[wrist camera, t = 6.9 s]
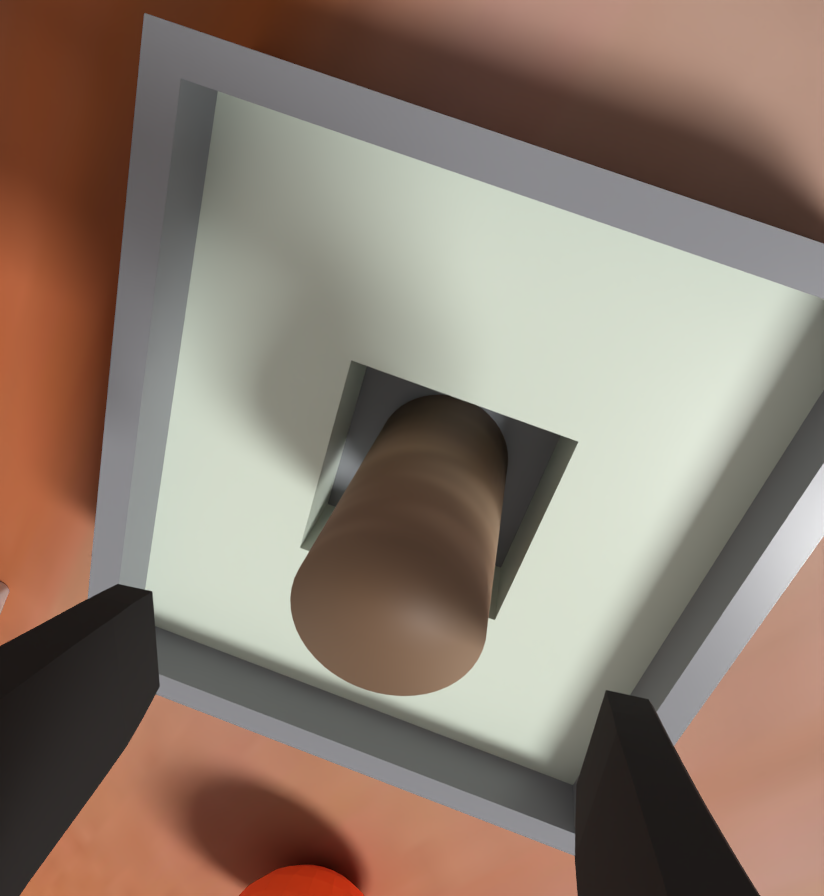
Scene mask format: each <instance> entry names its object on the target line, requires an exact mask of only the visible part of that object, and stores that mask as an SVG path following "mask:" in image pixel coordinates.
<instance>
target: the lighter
mask: <svg viewBox="0 0 824 896" xmlns="http://www.w3.org/2000/svg"><path fill="white" fill-rule="evenodd" d="M8 593H9V589H8V587H7V585H5V584H4V583H2V582H0V614H1V611H2V609H3V606H4V604H5V601H6V598H7V596H8Z"/></svg>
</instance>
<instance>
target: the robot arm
mask: <svg viewBox="0 0 824 896" xmlns="http://www.w3.org/2000/svg"><path fill="white" fill-rule="evenodd" d="M159 687H160V683H159V670H158V657H157V644H156V631H155V618H154V605H153V592H152V591H149V590H144V589H140V588H135V587H130V586H126V585H121V584H116V585H114V586H112V587H110V588H108V589H106V590H104V591H102V592H100V593H98V594H96V595H94V596H93V597H91V598H89V599H87V600H85V601H83V602H81V603H79V604H78V605H76V606H74V607H72V608H70V609H68V610H66V611H65V612H63V613H61V614H59V615H57V616H55V617H54V618H52V619H50V620H48V621H46V622H44V623H43V624H41V625H39V626H37V627H35V628H33V629H31V630H30V631H28V632H26V633H24V634H22V635H20V636H18V637H16V638H15V639H13V640H11V641H9V642H7V643H5V644H3V645H1V646H0V896H20V894H21V893H22V891H23V890H24V888H25V887H26V885H27V884H28V882H29V881H30V880H31V878H32V877H33V875H34V874H35V873H36V871H37V870H38V869H39V867H40V866H41V864H42V863H43V862H44V860H45V859H46V858H47V856H48V855H49V853H50V852H51V851H52V849H53V848H54V847H55V845H56V844H57V842H58V841H59V840H60V838H61V837H62V836H63V834H64V833H65V831H66V830H67V829H68V827H69V826H70V825H71V823H72V822H73V820H74V819H75V818H76V816H77V815H78V814H79V812H80V811H81V809H82V808H83V807H84V805H85V804H86V802H87V801H88V800H89V798H90V797H91V796H92V794H93V793H94V791H95V790H96V789H97V787H98V786H99V784H100V783H101V782H102V780H103V779H104V777H105V776H106V775H107V773H108V772H109V770H110V769H111V768H112V766H113V765H114V763H115V762H116V761H117V759H118V758H119V756H120V755H121V753H122V752H123V751H124V749H125V748H126V746H127V745H128V743H129V741H130V740H131V738H132V736H133V734H134V733H135V731H136V729H137V727H138V726H139V724H140V722H141V720H142V719H143V717H144V715H145V713H146V711H147V709H148V707H149V706H150V704H151V702H152V700H153V698H154V696H155V694H156V693H157V691H158V689H159ZM575 866H576V879H577V891H578V896H760V895H759V893H758V892H757V890H756V888H755V887H754V885H753V884H752V882H751V880H750V879H749V877H748V876H747V874H746V872H745V871H744V869H743V867H742V866H741V864H740V863H739V861H738V859H737V858H736V856H735V854H734V853H733V851H732V849H731V847H730V846H729V844H728V842H727V841H726V839H725V837H724V836H723V834H722V832H721V830H720V829H719V827H718V825H717V824H716V822H715V820H714V818H713V817H712V815H711V813H710V812H709V810H708V808H707V806H706V805H705V803H704V801H703V799H702V797H701V796H700V794H699V792H698V790H697V789H696V787H695V785H694V783H693V781H692V779H691V777H690V776H689V774H688V772H687V770H686V768H685V766H684V765H683V763H682V761H681V759H680V757H679V755H678V753H677V751H676V749H675V748H674V746H673V744H672V742H671V740H670V738H669V736H668V734H667V732H666V730H665V728H664V726H663V724H662V722H661V720H660V718H659V716H658V714H657V712H656V710H655V708H654V707H653V705H652V704H651V702H650V701H649V699H646V698H641V697H636V696H632V695H627V694H623V693H618V692H613V691H609V690H606V691H605V694H604V698H603V701H602V704H601V707H600V710H599V714H598V717H597V720H596V723H595V727H594V730H593V733H592V736H591V739H590V743H589V746H588V749H587V752H586V755H585V759H584V762H583V765H582V768H581V772H580V775H579V778H578V781H577V784H576V816H575Z"/></svg>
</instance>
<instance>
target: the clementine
mask: <svg viewBox="0 0 824 896" xmlns="http://www.w3.org/2000/svg"><path fill="white" fill-rule="evenodd" d="M239 896H364V895H363V894H362V892H361V891H360V890H359V889H358V888H357V887H356V886H355V885H354V884H352V883H351V882H350V881H349V880H348V879H347V878H345V877H344V876H343V875H341V874H339V873H337V872H335V871H334V870H331V869H328V868H325V867H322V866H316V865H295V866H288V867H283V868H279V869H276V870H274V871H273V872H271V873H269V874H267V875H265V876H264V877H262V878H260V879H258V880H257V881H255V882H253V883H252V884H250V885H249V886H248V887H247V888H246V889H245V890H244V891H243V892H242V893H241V894H240V895H239Z"/></svg>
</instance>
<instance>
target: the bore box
mask: <svg viewBox="0 0 824 896" xmlns="http://www.w3.org/2000/svg"><path fill="white" fill-rule="evenodd" d="M428 395H450V396H452V397H455V398H458V399H461V400H463V401H466V402H469V403H472V404H475V405H477V406H478V407H480V408H481V409H483V410H484V411H485V412H486V413H487V414H489V415H490V416H491V418H492V419H493V420H494V421H495V422H496V424H497V425H498V427H499V428H500V430H501V432H502V434H503V436H504V439H505V442H506V445H507V450H508V466H507V474H506V482H505V490H504V498H503V506H502V514H501V522H500V530H499V538H498V546H497V554H496V562H495V570H494V578H493V586H492V594H491V602H490V610H489V618H488V626H487V634H486V641H485V644H484V648H483V651H482V653H481V655H480V657H479V659H478V660H477V662H476V663H475V665H474V666H473V668H472V669H471V670H470V671H469V672H468V673H467V674H466V675H465V676H463V677H462V678H461V679H460V680H458V681H457V682H455V683H453V684H452V685H450V686H448V687H446V688H443V689H441V690H438V691H436V692H432V693H428V694H423V695H416V696H393V695H385V694H380V693H375V692H372V691H368V690H365V689H362V688H360V687H357V686H354V685H352V684H350V683H348V682H346V681H344V680H343V679H341V678H339V677H338V676H336V675H335V674H333V673H332V672H330V671H329V670H328V669H327V668H325V667H324V666H323V665H322V664H321V663H320V662H319V661H318V660H317V659H316V658H315V657H314V656H313V655H312V654H311V653H310V651H309V650H308V649H307V648H306V646H305V645H304V643H303V642H302V640H301V638H300V636H299V634H298V632H297V630H296V628H295V625H294V622H293V618H292V613H291V605H290V596H291V588H292V584H293V581H294V578H295V576H296V574H297V571H298V569H299V568H300V566H301V564H302V563H303V561H304V559H305V558H306V556H307V554H308V552H309V551H310V549H311V547H312V546H313V544H314V542H315V541H316V539H317V537H318V536H319V534H320V532H321V531H322V529H323V527H324V526H325V524H326V522H327V521H328V519H329V517H330V516H331V514H332V512H333V510H334V509H335V507H336V505H337V504H338V502H339V500H340V499H341V497H342V495H343V494H344V492H345V490H346V489H347V487H348V485H349V484H350V482H351V480H352V479H353V477H354V475H355V474H356V472H357V470H358V469H359V467H360V465H361V463H362V462H363V460H364V458H365V457H366V455H367V453H368V452H369V450H370V448H371V447H372V445H373V443H374V442H375V440H376V438H377V437H378V435H379V433H380V432H381V430H382V428H383V427H384V425H385V423H386V422H387V420H388V419H389V417H390V416H391V415H392V414H393V413H394V412H395V411H396V410H397V409H398V408H400V407H401V406H402V405H404V404H406V403H407V402H409V401H411V400H414V399H416V398H419V397H423V396H428ZM823 536H824V244H823V243H820V242H818V241H815V240H812V239H809V238H806V237H803V236H800V235H797V234H794V233H791V232H788V231H785V230H782V229H779V228H776V227H773V226H770V225H767V224H765V223H762V222H759V221H756V220H753V219H750V218H747V217H744V216H741V215H738V214H735V213H732V212H729V211H726V210H723V209H720V208H717V207H714V206H712V205H709V204H706V203H703V202H700V201H697V200H694V199H691V198H688V197H685V196H682V195H679V194H676V193H673V192H670V191H667V190H664V189H661V188H659V187H656V186H653V185H650V184H647V183H644V182H641V181H638V180H635V179H632V178H629V177H626V176H623V175H620V174H617V173H614V172H611V171H608V170H606V169H603V168H600V167H597V166H594V165H591V164H588V163H585V162H582V161H579V160H576V159H573V158H570V157H567V156H564V155H561V154H558V153H555V152H553V151H550V150H547V149H544V148H541V147H538V146H535V145H532V144H529V143H526V142H523V141H520V140H517V139H514V138H511V137H508V136H505V135H502V134H500V133H497V132H494V131H491V130H488V129H485V128H482V127H479V126H476V125H473V124H470V123H467V122H464V121H461V120H458V119H455V118H452V117H449V116H447V115H444V114H441V113H438V112H435V111H432V110H429V109H426V108H423V107H420V106H417V105H414V104H411V103H408V102H405V101H402V100H399V99H396V98H394V97H391V96H388V95H385V94H382V93H379V92H376V91H373V90H370V89H367V88H364V87H361V86H358V85H355V84H352V83H349V82H346V81H343V80H341V79H338V78H335V77H332V76H329V75H326V74H323V73H320V72H317V71H314V70H311V69H308V68H305V67H302V66H299V65H296V64H293V63H290V62H288V61H285V60H282V59H279V58H276V57H273V56H270V55H267V54H264V53H261V52H258V51H255V50H252V49H249V48H246V47H243V46H240V45H237V44H235V43H232V42H229V41H226V40H223V39H220V38H217V37H214V36H211V35H208V34H205V33H202V32H199V31H196V30H193V29H190V28H187V27H184V26H182V25H179V24H176V23H173V22H170V21H167V20H164V19H161V18H158V17H155V16H152V15H149V14H146V13H144V19H143V30H142V40H141V50H140V61H139V71H138V82H137V92H136V102H135V113H134V123H133V134H132V144H131V154H130V165H129V175H128V186H127V196H126V207H125V217H124V227H123V238H122V248H121V259H120V269H119V279H118V290H117V300H116V311H115V321H114V331H113V342H112V352H111V363H110V373H109V383H108V394H107V404H106V415H105V425H104V435H103V446H102V456H101V467H100V477H99V487H98V498H97V508H96V519H95V529H94V539H93V550H92V560H91V571H90V581H89V591H88V599H89V598H91V597H93V596H94V595H96V594H98V593H100V592H102V591H104V590H106V589H108V588H110V587H112V586H114V585H116V584H121V585H126V586H130V587H135V588H140V589H144V590H149V591H152V592H153V605H154V618H155V631H156V644H157V657H158V670H159V683H160V687H159V689H158V691H157V693H156V695H159V696H162V697H164V698H167V699H169V700H172V701H175V702H177V703H180V704H182V705H185V706H188V707H190V708H193V709H195V710H198V711H201V712H203V713H206V714H208V715H211V716H214V717H216V718H219V719H221V720H224V721H226V722H229V723H232V724H234V725H237V726H239V727H242V728H245V729H247V730H250V731H252V732H255V733H258V734H260V735H263V736H265V737H268V738H271V739H273V740H276V741H278V742H281V743H284V744H286V745H289V746H291V747H294V748H297V749H299V750H302V751H304V752H307V753H310V754H312V755H315V756H317V757H320V758H322V759H325V760H328V761H330V762H333V763H335V764H338V765H341V766H343V767H346V768H348V769H351V770H354V771H356V772H359V773H361V774H364V775H367V776H369V777H372V778H374V779H377V780H380V781H382V782H385V783H387V784H390V785H393V786H395V787H398V788H400V789H403V790H406V791H408V792H411V793H413V794H416V795H418V796H421V797H424V798H426V799H429V800H431V801H434V802H437V803H439V804H442V805H444V806H447V807H450V808H452V809H455V810H457V811H460V812H463V813H465V814H468V815H470V816H473V817H476V818H478V819H481V820H483V821H486V822H489V823H491V824H494V825H496V826H499V827H502V828H504V829H507V830H509V831H512V832H514V833H517V834H520V835H522V836H525V837H527V838H530V839H533V840H535V841H538V842H540V843H543V844H546V845H548V846H551V847H553V848H556V849H559V850H561V851H564V852H566V853H569V854H572V855H574V856H575V816H576V784H577V781H578V778H579V775H580V772H581V768H582V765H583V762H584V759H585V755H586V752H587V749H588V746H589V743H590V739H591V736H592V733H593V730H594V727H595V723H596V720H597V717H598V714H599V710H600V707H601V704H602V701H603V698H604V694H605V691H606V690H609V691H613V692H618V693H623V694H627V695H632V696H636V697H641V698H646V699H649V701H650V702H651V704H652V705H653V707H654V708H655V710H656V712H657V714H658V716H659V718H660V720H661V722H662V724H663V726H664V728H665V730H666V732H667V734H668V736H669V738H670V740H671V742H672V744H673V746H674V745H675V744H676V742H677V741H678V739H679V738H680V737H681V735H682V734H683V732H684V731H685V730H686V728H687V727H688V725H689V724H690V723H691V721H692V720H693V718H694V717H695V716H696V714H697V713H698V711H699V710H700V709H701V707H702V706H703V704H704V703H705V702H706V700H707V699H708V697H709V696H710V695H711V693H712V692H713V690H714V689H715V688H716V686H717V685H718V683H719V682H720V681H721V679H722V678H723V676H724V675H725V674H726V672H727V671H728V669H729V668H730V667H731V665H732V664H733V662H734V661H735V660H736V658H737V657H738V655H739V654H740V653H741V651H742V650H743V648H744V647H745V646H746V644H747V643H748V641H749V640H750V639H751V637H752V636H753V634H754V633H755V632H756V630H757V629H758V627H759V626H760V624H761V623H762V622H763V620H764V619H765V617H766V616H767V615H768V613H769V612H770V610H771V609H772V608H773V606H774V605H775V603H776V602H777V601H778V599H779V598H780V596H781V595H782V594H783V592H784V591H785V589H786V588H787V587H788V585H789V584H790V582H791V581H792V580H793V578H794V577H795V575H796V574H797V573H798V571H799V570H800V568H801V567H802V566H803V564H804V563H805V561H806V560H807V559H808V557H809V556H810V554H811V553H812V552H813V550H814V549H815V547H816V546H817V545H818V543H819V542H820V540H821V539H822V538H823Z"/></svg>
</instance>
